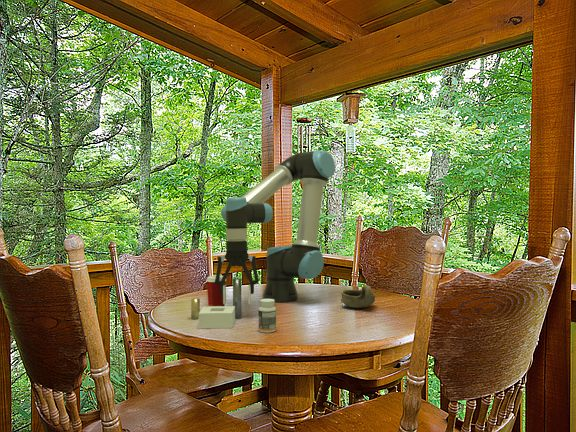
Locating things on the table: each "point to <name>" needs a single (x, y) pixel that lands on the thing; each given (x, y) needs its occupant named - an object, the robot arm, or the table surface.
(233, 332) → the table surface
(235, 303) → the long pin
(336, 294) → the table surface
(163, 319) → the table surface
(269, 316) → the pill bottle
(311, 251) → the robot arm
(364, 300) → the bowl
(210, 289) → the paper cup
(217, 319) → the hole block
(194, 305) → the short pin
